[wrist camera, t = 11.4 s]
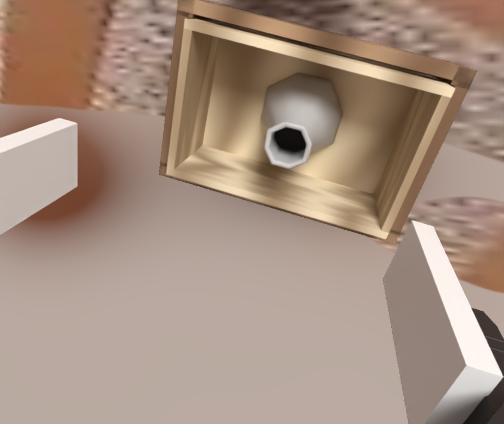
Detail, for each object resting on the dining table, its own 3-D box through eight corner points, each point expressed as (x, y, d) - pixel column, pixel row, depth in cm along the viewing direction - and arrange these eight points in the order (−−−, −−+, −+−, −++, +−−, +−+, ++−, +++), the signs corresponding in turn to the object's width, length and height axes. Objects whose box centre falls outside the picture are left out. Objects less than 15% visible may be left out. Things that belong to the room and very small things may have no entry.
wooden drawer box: (187, 151, 40) (158, 174, 33) (208, 1, 33) (178, -5, 27) (385, 208, 38) (394, 244, 32) (450, 62, 31) (477, 71, 25)
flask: (256, 76, 33) (226, 95, 24) (341, 67, 31) (342, 83, 23) (265, 156, 36) (241, 198, 27) (344, 151, 34) (345, 195, 26)
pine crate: (198, 146, 38) (166, 174, 31) (218, 20, 33) (184, 18, 26) (377, 198, 37) (385, 239, 29) (429, 74, 31) (455, 88, 24)
